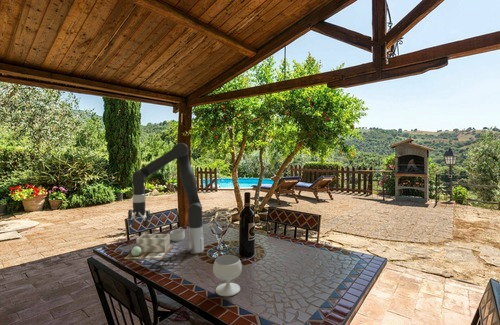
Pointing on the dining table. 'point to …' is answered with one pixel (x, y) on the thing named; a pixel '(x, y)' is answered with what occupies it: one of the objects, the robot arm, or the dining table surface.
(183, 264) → the dining table surface
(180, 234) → the teacup
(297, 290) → the dining table surface
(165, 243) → the sorting board
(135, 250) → the sage ball
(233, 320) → the dining table surface
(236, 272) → the chalice
